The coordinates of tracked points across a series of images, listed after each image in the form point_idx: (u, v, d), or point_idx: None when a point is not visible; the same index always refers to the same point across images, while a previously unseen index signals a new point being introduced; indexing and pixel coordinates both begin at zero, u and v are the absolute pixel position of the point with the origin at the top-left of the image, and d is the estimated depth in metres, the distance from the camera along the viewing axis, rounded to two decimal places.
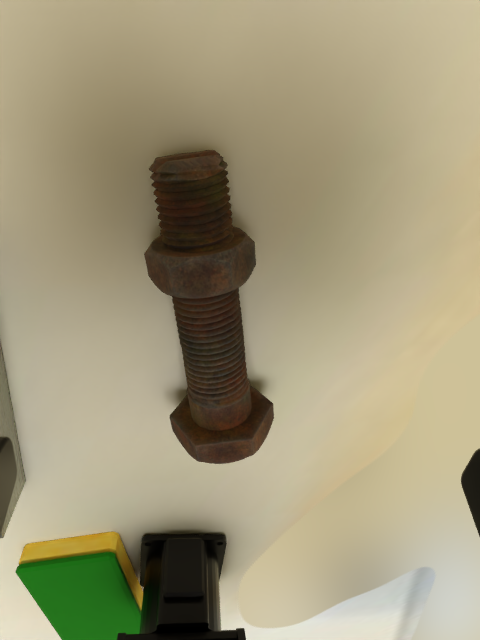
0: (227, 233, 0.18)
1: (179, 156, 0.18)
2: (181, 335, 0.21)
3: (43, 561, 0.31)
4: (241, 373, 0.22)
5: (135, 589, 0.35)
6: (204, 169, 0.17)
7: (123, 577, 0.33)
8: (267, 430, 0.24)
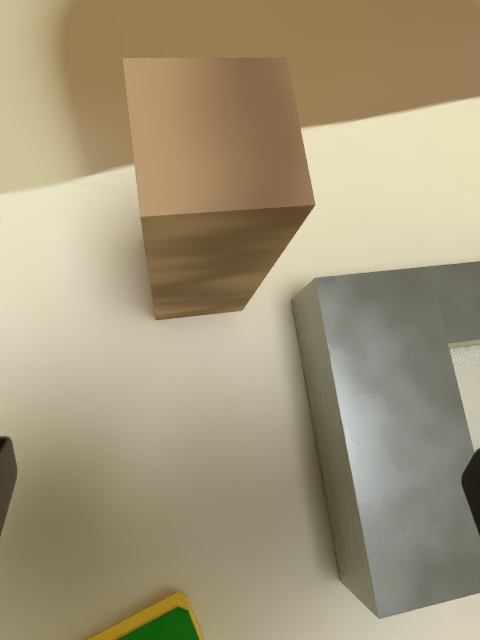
0: None
1: None
2: None
3: None
4: None
5: None
6: None
7: None
8: None
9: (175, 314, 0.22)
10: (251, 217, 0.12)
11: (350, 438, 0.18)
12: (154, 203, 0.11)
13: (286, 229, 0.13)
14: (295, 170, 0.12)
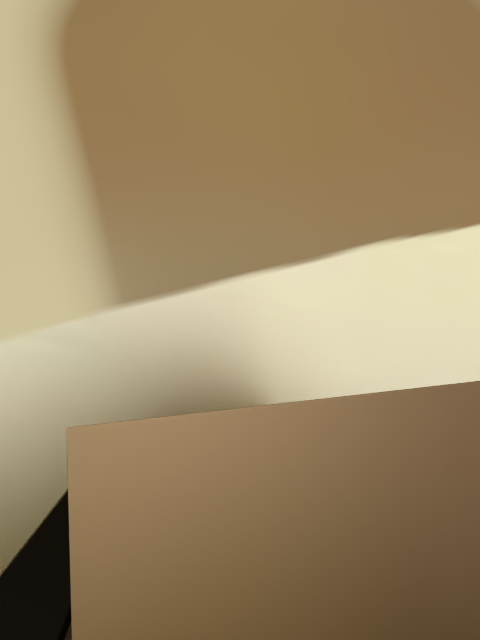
0: None
1: None
2: None
3: None
4: None
5: None
6: None
7: None
8: None
9: None
10: None
11: None
12: None
13: None
14: None
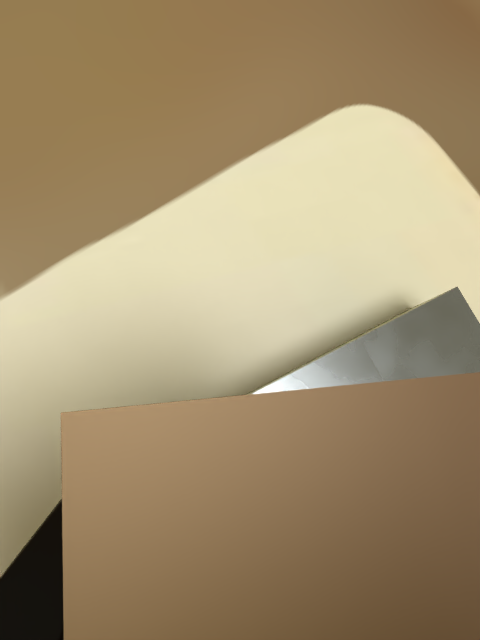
0: None
1: None
2: None
3: None
4: None
5: None
6: None
7: None
8: None
9: None
10: None
11: None
12: None
13: None
14: None
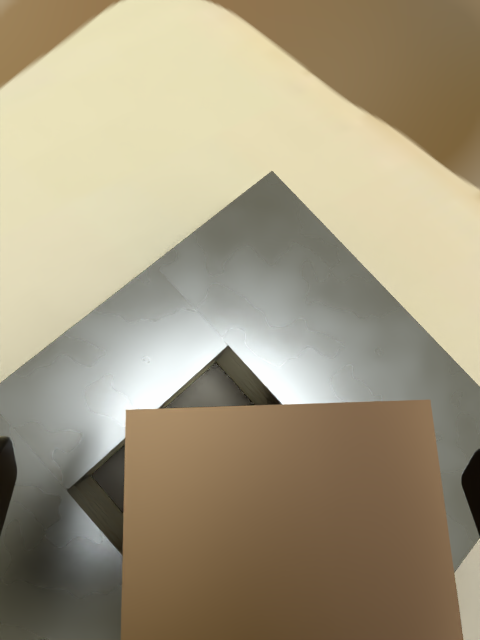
0: None
1: None
2: None
3: None
4: None
5: None
6: None
7: None
8: None
9: None
10: None
11: None
12: None
13: None
14: None
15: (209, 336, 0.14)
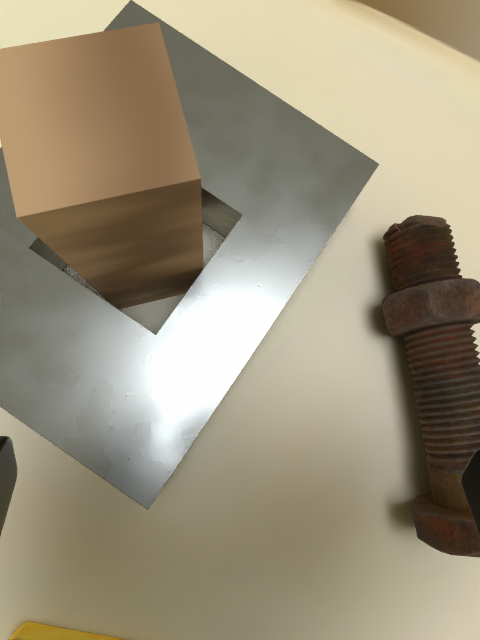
0: (460, 276, 0.21)
1: None
2: (427, 383, 0.20)
3: None
4: None
5: None
6: (437, 222, 0.21)
7: None
8: None
9: (134, 301, 0.21)
10: (139, 201, 0.11)
11: (9, 405, 0.17)
12: (29, 202, 0.10)
13: (189, 206, 0.12)
14: (177, 144, 0.11)
15: None
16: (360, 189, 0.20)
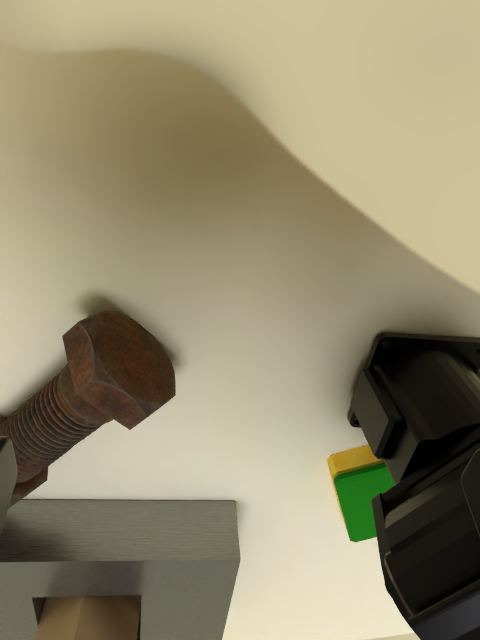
0: None
1: None
2: (60, 456, 0.22)
3: None
4: (45, 403, 0.20)
5: None
6: None
7: (383, 466, 0.26)
8: (84, 338, 0.18)
9: None
10: None
11: (223, 617, 0.30)
12: None
13: None
14: None
15: None
16: None
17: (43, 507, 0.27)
